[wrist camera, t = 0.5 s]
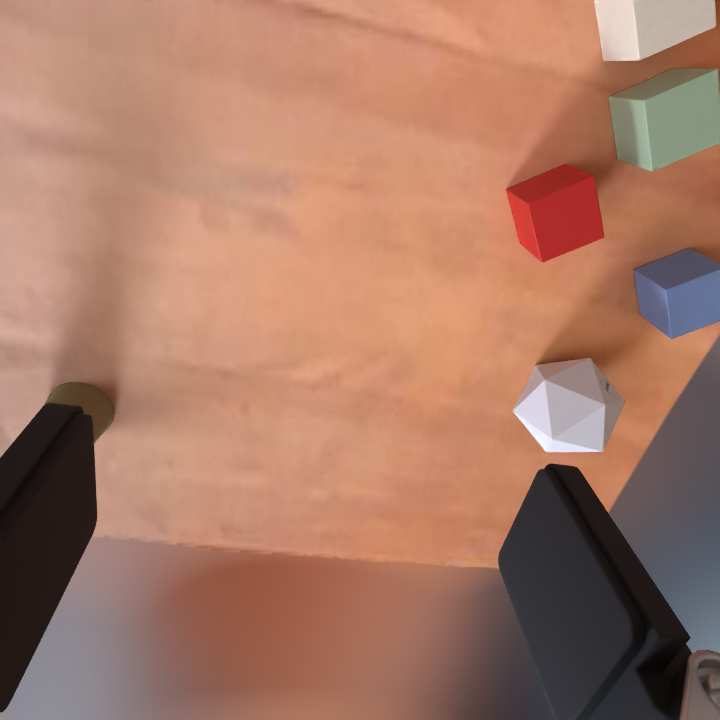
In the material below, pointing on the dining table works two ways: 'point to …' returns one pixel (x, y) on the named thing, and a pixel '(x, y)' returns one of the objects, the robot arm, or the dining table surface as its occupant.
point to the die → (569, 406)
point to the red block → (556, 212)
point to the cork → (86, 404)
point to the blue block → (679, 292)
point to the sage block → (667, 117)
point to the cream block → (649, 25)
